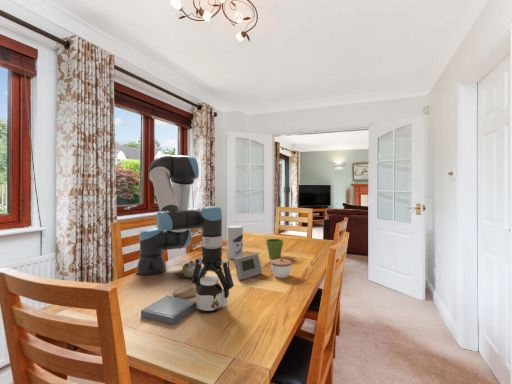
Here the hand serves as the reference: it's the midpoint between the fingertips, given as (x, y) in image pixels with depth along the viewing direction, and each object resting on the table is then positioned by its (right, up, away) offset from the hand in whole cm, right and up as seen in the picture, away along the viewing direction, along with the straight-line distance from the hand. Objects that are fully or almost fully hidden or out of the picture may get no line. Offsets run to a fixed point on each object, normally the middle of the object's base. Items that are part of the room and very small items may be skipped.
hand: (212, 303), depth 107 cm
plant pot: (+29, +1, +70) cm, 76 cm away
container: (+4, +1, +71) cm, 71 cm away
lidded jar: (+30, -1, +35) cm, 46 cm away
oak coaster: (-14, -1, +12) cm, 18 cm away
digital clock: (+13, -1, +35) cm, 38 cm away
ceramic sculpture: (-16, -1, +33) cm, 37 cm away
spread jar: (-1, -2, 0) cm, 2 cm away
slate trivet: (-15, -1, -5) cm, 16 cm away
